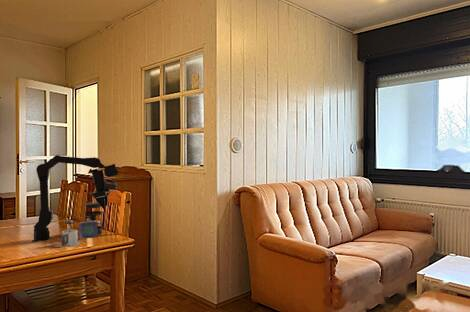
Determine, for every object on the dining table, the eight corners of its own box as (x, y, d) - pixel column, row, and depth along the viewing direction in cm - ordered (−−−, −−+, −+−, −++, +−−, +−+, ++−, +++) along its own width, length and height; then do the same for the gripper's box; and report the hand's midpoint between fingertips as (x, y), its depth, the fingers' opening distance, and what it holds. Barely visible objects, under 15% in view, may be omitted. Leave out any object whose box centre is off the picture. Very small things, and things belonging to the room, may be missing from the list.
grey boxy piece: (55, 246, 169) (55, 233, 169) (67, 242, 178) (66, 229, 178) (69, 247, 168) (69, 233, 168) (80, 242, 177) (79, 229, 177)
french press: (83, 236, 193) (83, 193, 193) (82, 233, 202) (81, 192, 201) (106, 233, 199) (106, 192, 199) (104, 230, 207) (103, 191, 207)
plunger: (63, 234, 172) (63, 221, 172) (68, 232, 176) (67, 220, 176) (71, 234, 172) (70, 221, 172) (75, 232, 176) (75, 220, 176)
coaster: (53, 247, 170) (53, 246, 170) (66, 242, 180) (65, 241, 180) (73, 248, 169) (73, 246, 169) (84, 242, 179) (84, 241, 179)
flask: (79, 240, 184) (79, 219, 184) (78, 239, 187) (78, 218, 187) (98, 238, 189) (97, 217, 189) (97, 237, 191) (96, 217, 191)
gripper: (111, 178, 189) (118, 206, 190) (115, 175, 207) (121, 201, 208) (90, 182, 186) (96, 211, 188) (96, 179, 205) (102, 205, 206)
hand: (105, 207), depth 197 cm, fingers open, 9 cm apart
